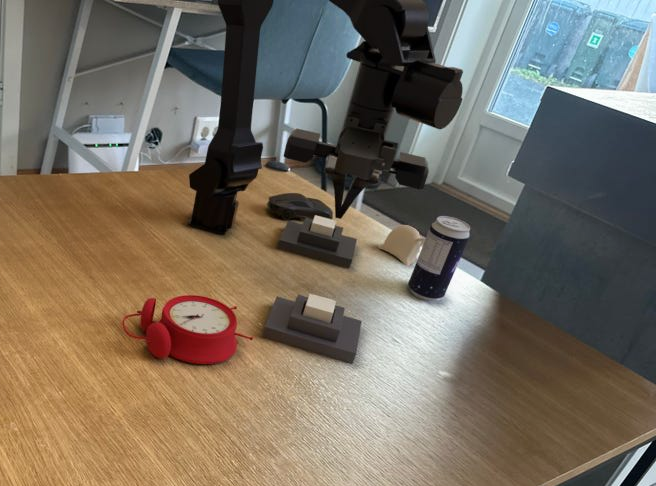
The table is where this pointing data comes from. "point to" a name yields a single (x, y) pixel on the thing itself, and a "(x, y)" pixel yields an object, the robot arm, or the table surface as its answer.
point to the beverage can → (439, 258)
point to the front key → (319, 308)
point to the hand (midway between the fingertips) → (338, 217)
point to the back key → (323, 226)
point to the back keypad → (318, 244)
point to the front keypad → (313, 330)
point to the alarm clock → (190, 329)
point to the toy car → (298, 206)
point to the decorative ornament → (403, 243)
